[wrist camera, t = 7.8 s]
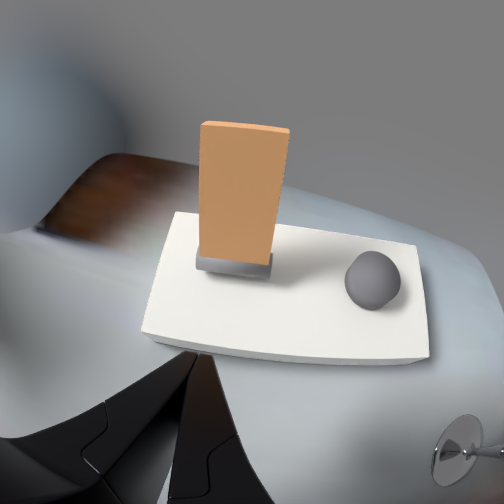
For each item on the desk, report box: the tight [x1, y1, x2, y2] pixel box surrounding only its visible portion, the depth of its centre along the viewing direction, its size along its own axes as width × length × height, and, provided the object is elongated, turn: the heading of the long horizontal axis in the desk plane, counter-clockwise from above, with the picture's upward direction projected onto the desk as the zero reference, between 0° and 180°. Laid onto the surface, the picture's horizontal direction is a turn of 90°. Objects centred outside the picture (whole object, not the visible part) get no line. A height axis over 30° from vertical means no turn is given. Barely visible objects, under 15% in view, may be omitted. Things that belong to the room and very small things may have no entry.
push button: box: [345, 251, 401, 310], centre depth 17 cm, size 4×4×1 cm
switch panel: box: [141, 212, 429, 365], centre depth 18 cm, size 9×19×3 cm, turn 83°
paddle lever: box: [195, 121, 290, 279], centre depth 14 cm, size 2×4×9 cm, turn 84°
